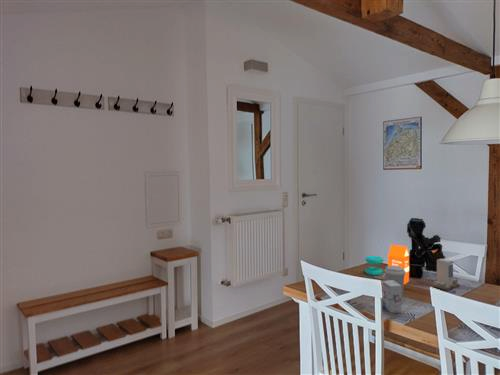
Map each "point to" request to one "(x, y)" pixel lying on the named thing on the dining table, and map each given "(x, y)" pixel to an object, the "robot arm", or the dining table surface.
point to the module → (445, 271)
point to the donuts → (374, 270)
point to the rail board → (443, 285)
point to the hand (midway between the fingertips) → (439, 263)
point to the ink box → (392, 296)
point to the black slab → (431, 266)
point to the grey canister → (395, 275)
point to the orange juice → (399, 259)
